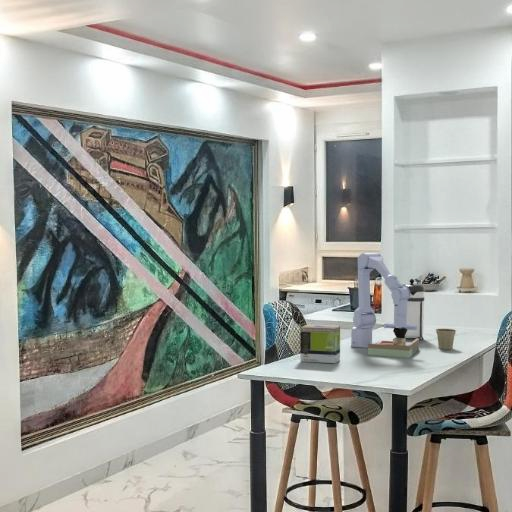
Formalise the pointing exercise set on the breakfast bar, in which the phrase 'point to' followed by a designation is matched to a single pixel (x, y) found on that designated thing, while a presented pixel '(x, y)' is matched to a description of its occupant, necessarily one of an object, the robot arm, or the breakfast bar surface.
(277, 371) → the breakfast bar surface
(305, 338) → the tea box
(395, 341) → the maple block
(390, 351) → the box
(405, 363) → the breakfast bar surface
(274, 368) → the breakfast bar surface
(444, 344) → the flower pot
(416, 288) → the coffee press
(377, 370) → the breakfast bar surface
